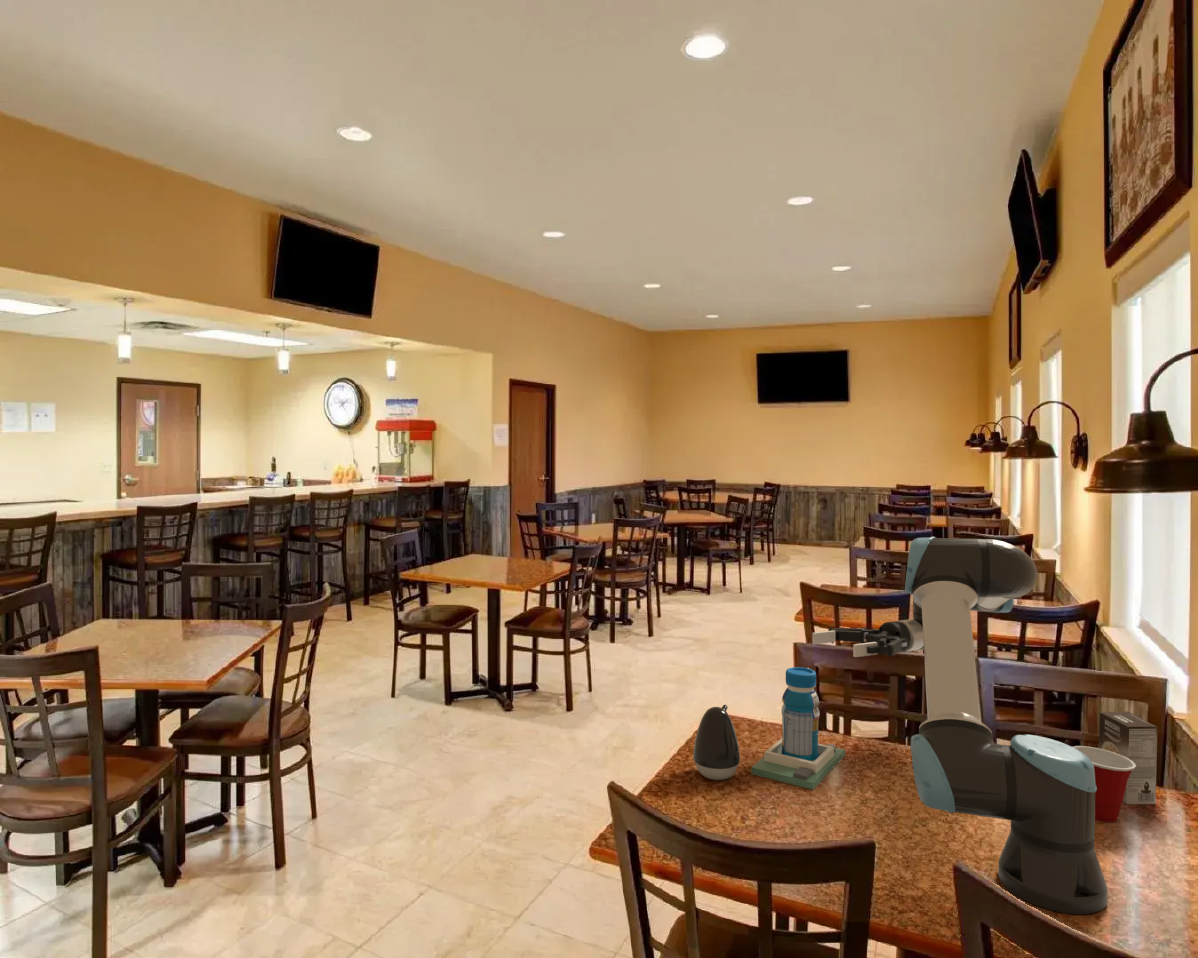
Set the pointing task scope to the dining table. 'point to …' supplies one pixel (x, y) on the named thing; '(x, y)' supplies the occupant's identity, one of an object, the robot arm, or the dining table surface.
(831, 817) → the dining table surface
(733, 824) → the dining table surface
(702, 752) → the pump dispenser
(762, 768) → the board
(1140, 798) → the coffee box
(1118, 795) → the plastic cup
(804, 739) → the beverage bottle
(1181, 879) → the dining table surface
